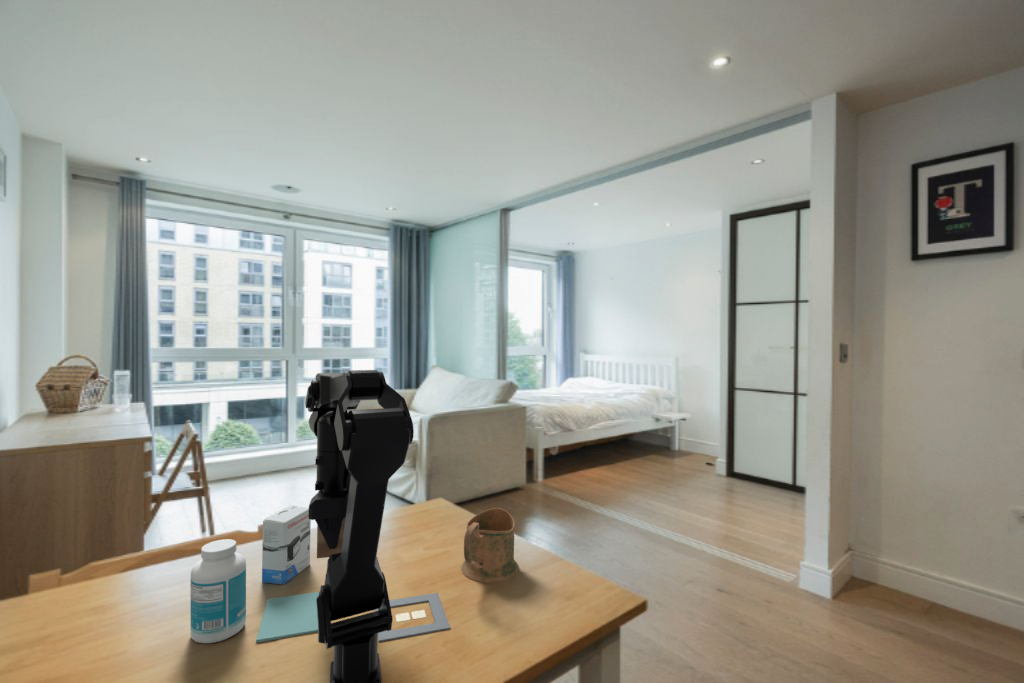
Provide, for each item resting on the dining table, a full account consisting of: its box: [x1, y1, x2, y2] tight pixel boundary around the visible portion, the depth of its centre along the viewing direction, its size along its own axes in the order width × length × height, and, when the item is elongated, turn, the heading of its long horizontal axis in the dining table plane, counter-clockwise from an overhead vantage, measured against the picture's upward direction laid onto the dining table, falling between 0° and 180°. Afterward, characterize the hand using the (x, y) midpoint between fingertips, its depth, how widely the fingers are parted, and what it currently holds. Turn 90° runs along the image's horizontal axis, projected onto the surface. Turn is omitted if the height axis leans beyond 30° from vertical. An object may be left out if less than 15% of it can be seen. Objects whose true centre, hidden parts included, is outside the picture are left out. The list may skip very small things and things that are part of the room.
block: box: [316, 517, 346, 559], centre depth 80 cm, size 5×5×6 cm
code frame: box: [374, 592, 451, 643], centre depth 80 cm, size 11×11×1 cm
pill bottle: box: [190, 538, 247, 644], centre depth 75 cm, size 8×7×14 cm
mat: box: [255, 591, 320, 644], centre depth 80 cm, size 12×10×1 cm
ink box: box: [261, 505, 312, 585], centre depth 94 cm, size 8×5×12 cm, turn 168°
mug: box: [460, 507, 519, 584], centre depth 94 cm, size 12×18×12 cm, turn 161°
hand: (334, 541), depth 80 cm, fingers closed on block, 5 cm apart
